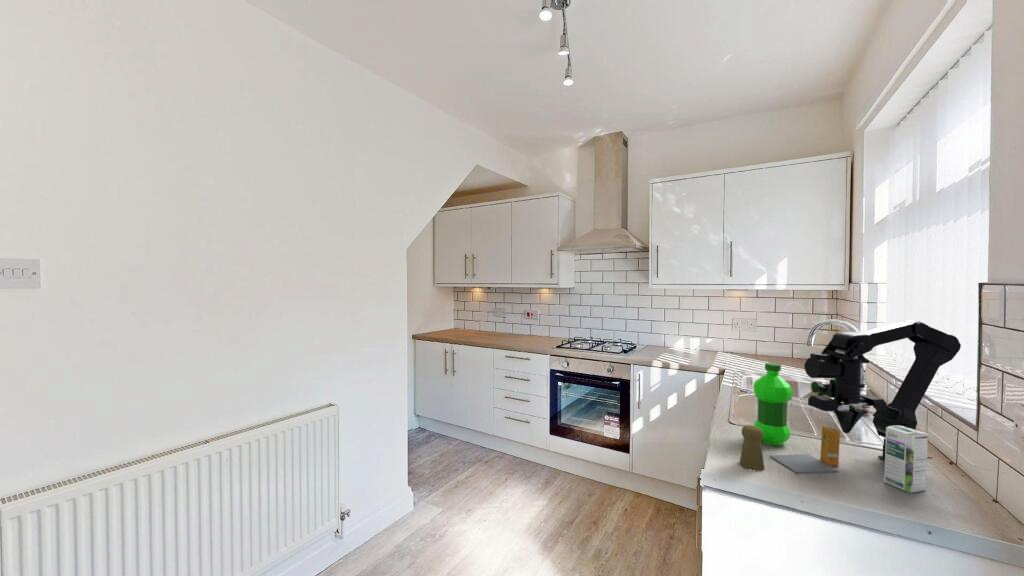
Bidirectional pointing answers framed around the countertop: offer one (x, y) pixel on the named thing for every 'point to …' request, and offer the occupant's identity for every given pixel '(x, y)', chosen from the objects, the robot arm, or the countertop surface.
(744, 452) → the cork
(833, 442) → the supplement box
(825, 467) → the rubber mat
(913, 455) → the syrup box
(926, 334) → the robot arm
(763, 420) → the plastic bottle
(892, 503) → the countertop surface
